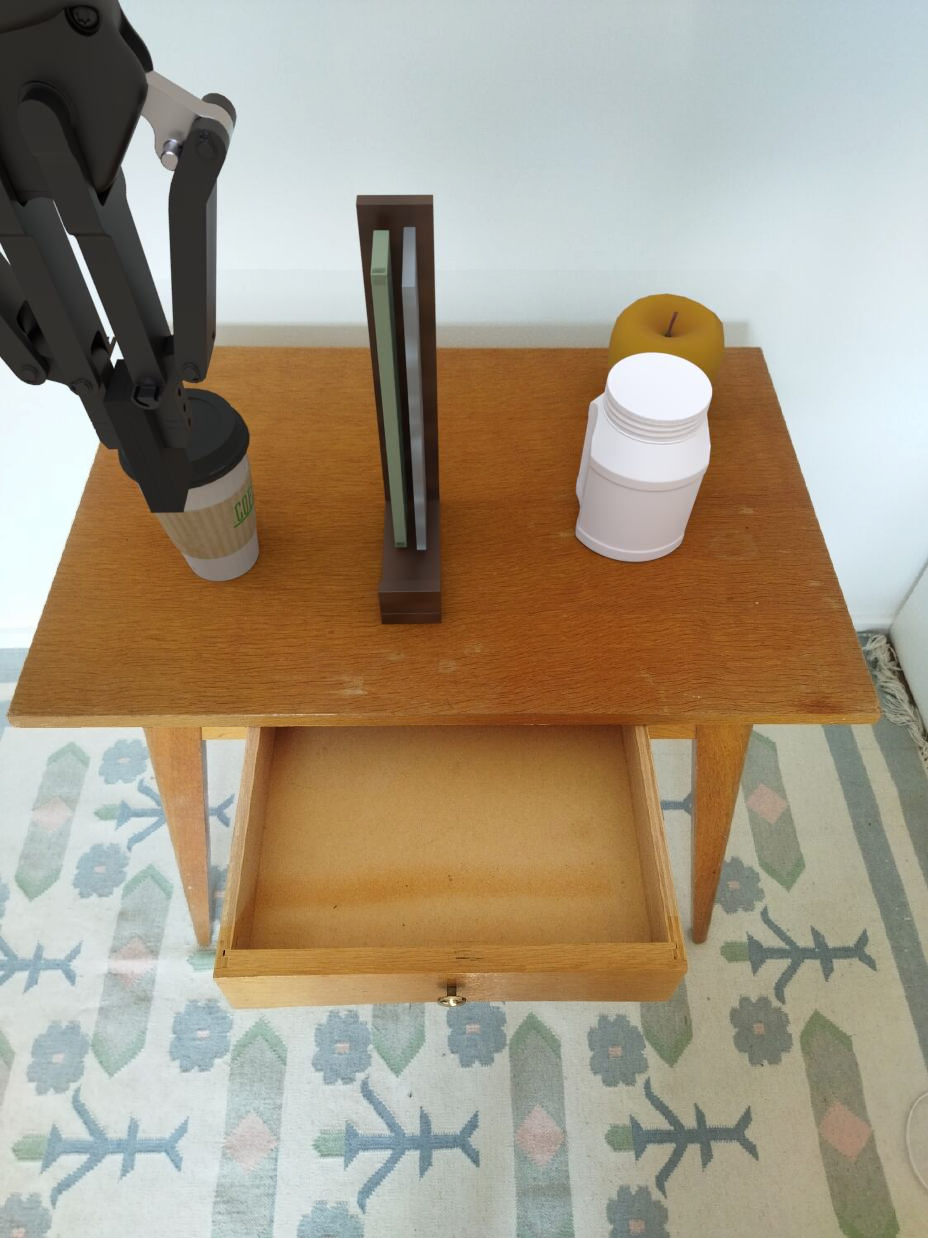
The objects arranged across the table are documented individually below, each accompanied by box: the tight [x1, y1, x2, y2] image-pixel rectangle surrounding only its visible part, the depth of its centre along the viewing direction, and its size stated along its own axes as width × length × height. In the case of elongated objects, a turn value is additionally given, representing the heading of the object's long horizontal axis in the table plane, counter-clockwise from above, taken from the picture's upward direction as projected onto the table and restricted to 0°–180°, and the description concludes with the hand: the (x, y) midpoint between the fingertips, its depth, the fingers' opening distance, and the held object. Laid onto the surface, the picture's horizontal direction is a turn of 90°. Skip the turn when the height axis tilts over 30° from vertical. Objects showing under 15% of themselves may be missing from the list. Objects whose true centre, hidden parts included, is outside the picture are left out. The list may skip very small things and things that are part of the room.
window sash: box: [371, 230, 407, 547], centre depth 62 cm, size 1×5×26 cm, turn 1°
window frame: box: [355, 194, 442, 625], centre depth 61 cm, size 5×14×29 cm, turn 1°
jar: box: [575, 353, 713, 563], centre depth 70 cm, size 12×10×15 cm
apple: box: [607, 293, 726, 389], centre depth 79 cm, size 11×11×13 cm
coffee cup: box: [117, 387, 260, 582], centre depth 67 cm, size 10×10×15 cm
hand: (172, 491), depth 39 cm, fingers closed
